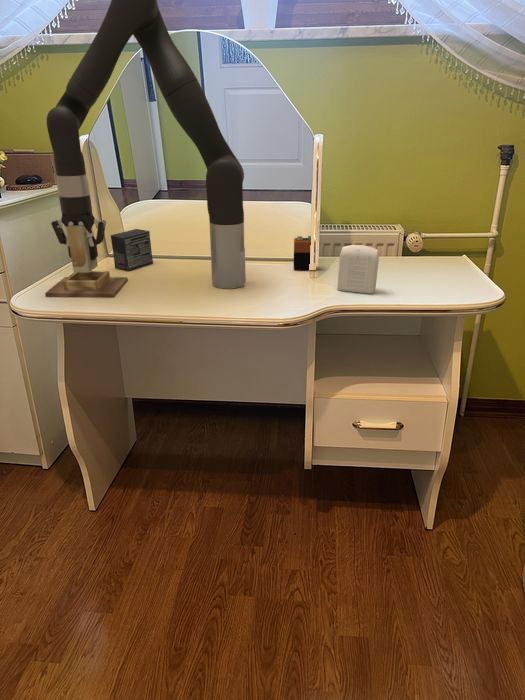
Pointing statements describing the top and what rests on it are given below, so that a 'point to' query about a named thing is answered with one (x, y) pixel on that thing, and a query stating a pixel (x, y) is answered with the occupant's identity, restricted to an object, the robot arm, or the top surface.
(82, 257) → the skincare box
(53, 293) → the cosmetics stand
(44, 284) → the top surface
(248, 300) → the top surface
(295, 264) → the battery
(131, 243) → the small box
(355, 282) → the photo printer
